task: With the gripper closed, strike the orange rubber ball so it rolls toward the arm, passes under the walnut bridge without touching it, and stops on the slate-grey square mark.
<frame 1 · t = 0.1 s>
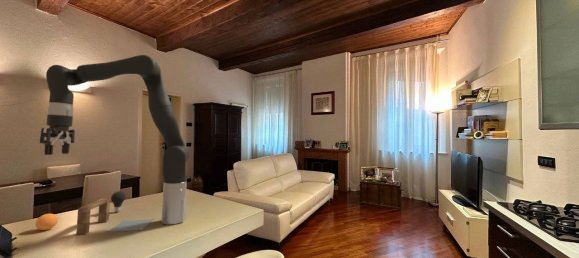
hand: (57, 154, 93), 29 cm above the table, tool pointing down, fingers open, 8 cm apart
light bulb: (117, 212, 111), on the table
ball: (46, 221, 88), on the table
bridge: (93, 227, 92), on the table
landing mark: (132, 225, 94), on the table
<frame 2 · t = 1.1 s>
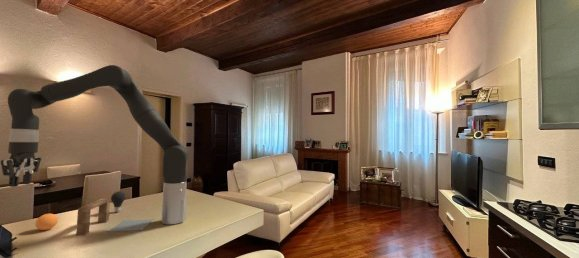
hand: (20, 185, 87), 17 cm above the table, tool pointing down, fingers open, 4 cm apart
nothing on the table moved.
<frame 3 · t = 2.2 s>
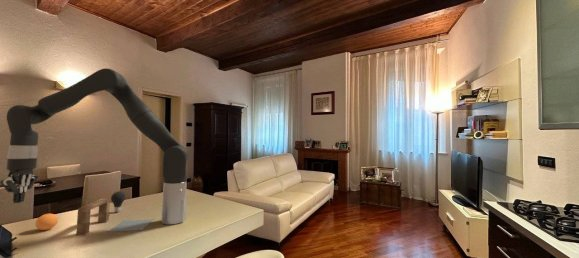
hand: (18, 202, 87), 11 cm above the table, tool pointing down, fingers closed
nothing on the table moved.
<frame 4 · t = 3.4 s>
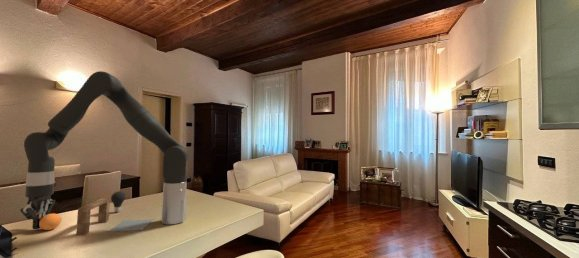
hand: (37, 228, 88), 1 cm above the table, tool pointing down, fingers closed
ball: (50, 221, 89), on the table
everything else where it was.
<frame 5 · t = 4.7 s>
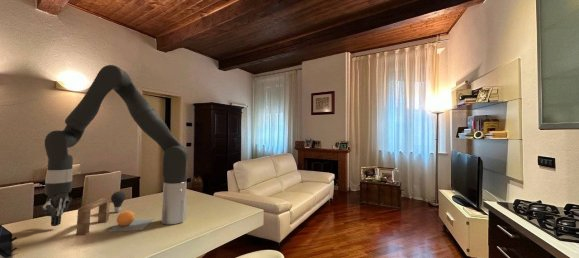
hand: (55, 225, 89), 2 cm above the table, tool pointing down, fingers closed
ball: (125, 218, 94), on the table
everything else where it was.
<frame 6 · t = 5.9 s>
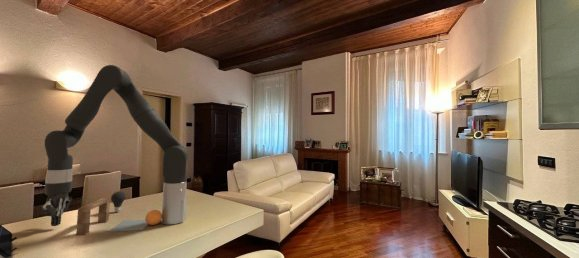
hand: (55, 225, 89), 2 cm above the table, tool pointing down, fingers closed
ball: (153, 217, 96), on the table
everything else where it was.
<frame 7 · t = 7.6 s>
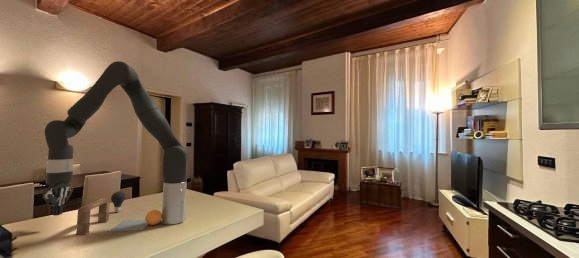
hand: (57, 214, 89), 6 cm above the table, tool pointing down, fingers closed
nothing on the table moved.
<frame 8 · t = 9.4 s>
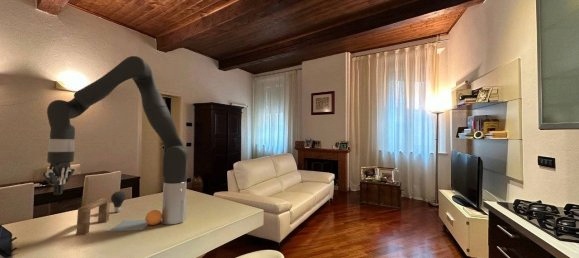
hand: (58, 194, 90), 14 cm above the table, tool pointing down, fingers closed
nothing on the table moved.
at the end: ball 8.0 cm from the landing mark (horizontally); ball never touched bridge; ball at rest at the end (0.0 cm/s) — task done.
